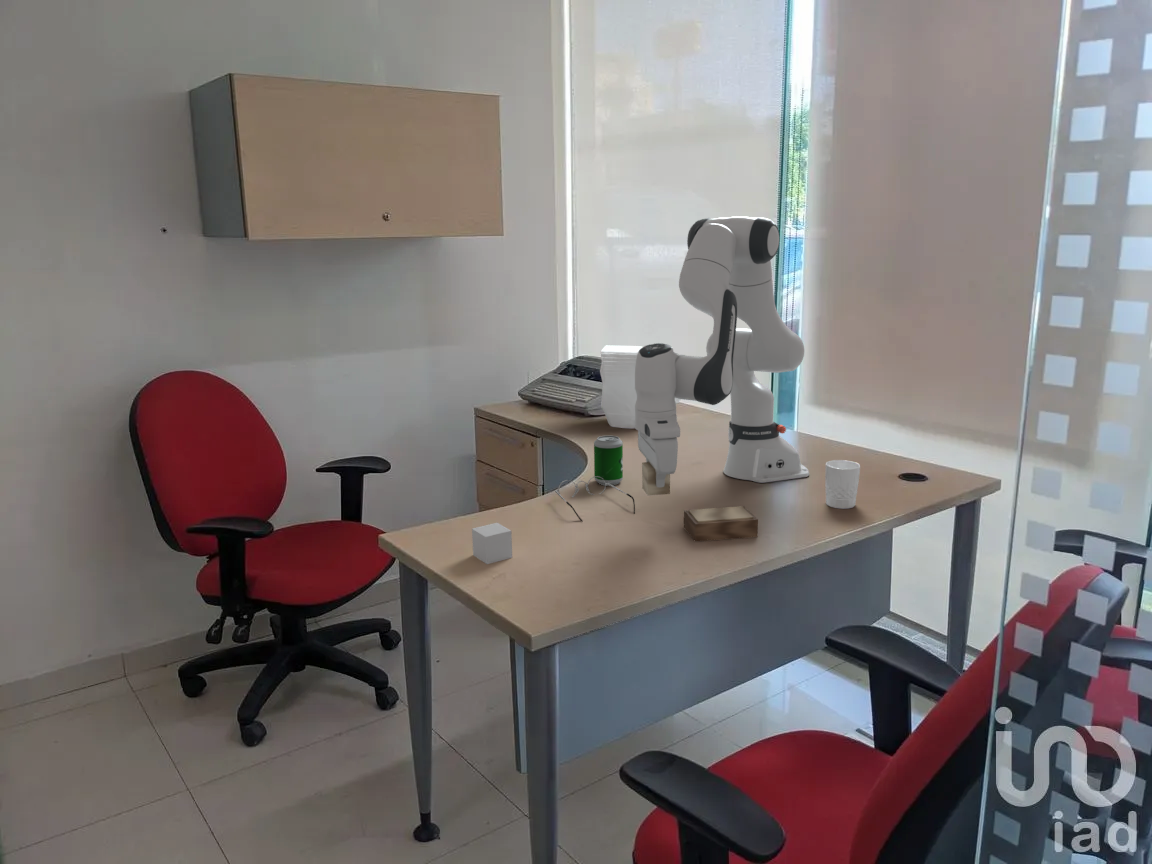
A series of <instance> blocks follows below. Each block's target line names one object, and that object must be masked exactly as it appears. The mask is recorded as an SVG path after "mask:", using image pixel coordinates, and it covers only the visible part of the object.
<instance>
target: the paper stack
mask: <svg viewBox="0 0 1152 864" xmlns="http://www.w3.org/2000/svg"><path fill="white" fill-rule="evenodd" d="M643 347H644V346H640V345H612V344H611V345H609V344H608V345H605V344H604V347H602V349H601V350H600V358H601V363H600V364H601V365H600V369H599V374H600V377H601V382H602V389H601V400H600V401H601V403H600V409H601V410H603V412H604V415H605V418H606V420H607V421H606V422H607V423H608V424H609V426H610V427H612V428H620V429H621V428H622V429H636V428H635V404H636V400H637V394H636V391H635V365H636V358H637V354H638V351H639V350H640V349H641V348H643ZM681 400H682V399H678V398H675V402H676V405H677V404H678V403H680V401H681Z"/></svg>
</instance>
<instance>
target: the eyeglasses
mask: <svg viewBox="0 0 1152 864" xmlns="http://www.w3.org/2000/svg"><path fill="white" fill-rule="evenodd" d="M595 477H599V476H595ZM600 478H601V477H600ZM593 479H594V476H593V477H591V478H590V479H589V480H588V482H586V481H583V480H579V481H578V482H577V483H575V482H573V481H572V484H573V485H574V493H573V495H572V496H571V497H572V498H574V497H575V496H576V495H577V493H578V492H579V491H580V487H579V485H578V484H579V483H581V482H582V483H584V484H585V489H586V492H587V493H588V494H589V495H591V496H592V495H593V496H594V495H595V494H594V493H592V492H591V491H590V490H589V483H590V482H591V480H593ZM602 479H603V478H602ZM603 480H604V479H603ZM567 481H568V482H571V480H569V479H566V480H563V481H561V482H560V484H559V486H558V488H557V489H555V490H554V492H555V493H556V494H557V495H558V496H559V497H560V498H561V499H562V500H563V502H565V503H566V505H568V506H570V508H571V509H572V510H573V512H574V514H575V515H576V517H577V518H578V520H579V521H580V522H581V523H583V522H584V520H583V519H582V518H581V517H580V516H579V514H578V513H577V512H576V509H575V508H574V507H573V505H572V504H571V503H569V501H566V498H564V497H563V496H562V495H561V493H560V488H561V485H562V484H563V483H564V482H567ZM604 482H605V481H604ZM606 485H610V486H609V487H612V488H613V489H615V490H617V491H619V492H621V493H624V494H625V495H626V496H628V497H629V498H631V499H632V503H633V515H635V514H636V508H635V507H636V504H635V499H634V497H633V496H632V495H631V494H630V493H627V492H624V490H621V489H619V488H618V487H616V485H611V484H609V483H605V485H604V489H603V490H602V491H601V492H600V493H599V495H601V494H602V493H604V491H605V490H606Z"/></svg>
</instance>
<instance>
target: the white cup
mask: <svg viewBox="0 0 1152 864" xmlns="http://www.w3.org/2000/svg"><path fill="white" fill-rule="evenodd" d="M860 473H861V464H860V463H858V462H855V461H851V460H845V459H833V460H829V461H826V462H825V476H824V477H825V478H824V480H825V483H824V484H825V485H824V487H825V503H826V506H828V507H831V508H834V509H840V510H843V509H844V510H845V509H852V508H854V507H855V506H856V501H857V495H858V487H859V480H860Z"/></svg>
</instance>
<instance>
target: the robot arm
mask: <svg viewBox="0 0 1152 864" xmlns="http://www.w3.org/2000/svg"><path fill="white" fill-rule="evenodd" d="M686 239H687V240H686V241H687V244H686V246H687V252H686V255H685V258H684V261H683V264H682V267H681V270H680V274H679V278H678V279H679V280H678V288H679V291H680V294H681V295H682V298H683V299H684V300H685V301H686V302H687V303H688V304H689V305H690V306H692V307H693V308H695V310H698V311H700V312H702V313H704V314H706V315H708V316H710V317H712V318H713V330H712V333H711V334H710V336H709V338H708V340H707V342H706V347H705V349H706V356H697V355H686V354H679V353H676V352H675V351H674V348H673V347H672V346H671V345H670V344H668V343H662V342H661V343H659V342H658V343H652V344H647V345H644V346H642V347H643V348H641V349H640V350H639V351H638V354H637V358H636V365H635V391H636V394H637V400H636V404H635V428H634V429H635V430H637V447H638V451H640V453H641V454H642V455H643V456H644V458H645V462H650V464H651V465H652V466H653V467H654V469H655V472H656V478H655V485H656V486H657V487H664V485H665V477H666V474H670V475H673V474H675V473H676V470H677V466H678V454H679V453H678V450H679V442H678V438H680V437H681V427H680V425H679V422H678V415H677V404H676V402H675V398H678V399H681V400H684V401H685V400H686V401H695V402H698V403H702V404H706V405H711V406H716V405H718V404H719V403H721V402H723V401H725V399H726V398H728V396H729V395H730V420H729V424H728V430H727V431H728V435H727V436H728V442H729V445H728V451H727V457H726V460H725V465H724V467H723V470H722V472H723V474H724V475H726V476H728V477H731V478H734V479H740V480H745V481H753V482H755V483H762V484H763V483H765V484H766V483H771V482H778V481H786V480H791V479H800V478H806V477H808V476H809V475H810V472H809V471H810V470H809V468H807V467H806V466H805V465H803V464H802V463H801V457H800V454H799V453H800V452H799V451H798V450H797V448H796V447H794V446H793V445H792V443H791V444H790V443H789V442H788V440H786V439H785V438H783V437H781V436H780V434H785V433H786V432H787V427H785V425H783V424H780V423H779V424H778V423H777V422H775V421H774V408H775V407H774V406H775V397H774V394H773V392H772V390H771V389H770V388H769V387H768V386H766V385H764V384H763V383H761V382H760V381H759V380H758V379H757V377H756V374H755V372H762V373H764V372H765V373H774V374H778V373H786V372H794V371H795V370H797V368H799V366H800V365H801V364H802V362H803V359H804V357H805V346H804V343H803V342H804V341H803V340H802V339H801V337H800V335H798V334H797V333H796V332H794V330H792V329H791V328H789V327H788V326H787V325H786V323H785V322H784V321H783V319H782V318H781V316H780V314H779V312H778V310H777V307H776V303H775V296H774V287H773V270H772V269H773V268H772V262H771V261H772V259H773V258H774V257H775V256H776V255H777V253H778V250H779V246H780V230H779V227H778V226H777V224H776V223H775V221H773V219H769V218H768V217H767V218H766V217H761V216H759V217H752V216H751V217H749V216H740V215H739V216H738V215H737V216H736V215H735V216H731V217H730V216H729V217H728V216H726V217H718V218H717V217H715V218H710V217H706V218H702V219H698V220H696V221H695V223H693V224H692V225H691V226H690V228H689V230H688V234H687V238H686ZM738 319H739V320H741V321H743V322H744V323H745V324H746V325H747V326H748V327H749V328H746V327H737V322H738Z"/></svg>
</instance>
